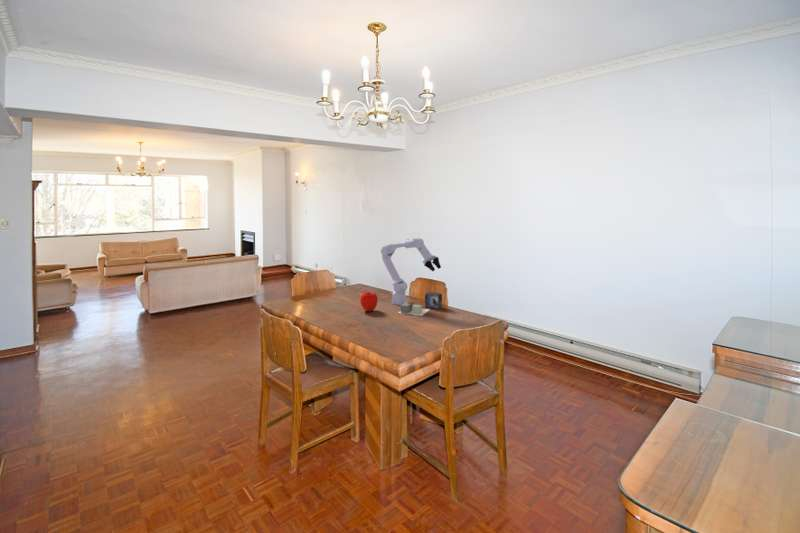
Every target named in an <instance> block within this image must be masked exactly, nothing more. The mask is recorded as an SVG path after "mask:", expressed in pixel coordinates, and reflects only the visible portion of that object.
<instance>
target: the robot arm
mask: <svg viewBox="0 0 800 533" xmlns="http://www.w3.org/2000/svg"><path fill="white" fill-rule="evenodd" d="M400 248H405V249H413V248H416V249H417V251H418V252H419V253H420V255H421V256H422V258H423V261H422V263H423V264H424V265H423V266H424V267H425V268H428V269H429V270H430V271H432V272H434V271H435V270H436V268H437V269H441V268H442V266H441V263H440V260H439V257H438V256H437V255H434V254H432V253H431V252H430V250H429V249H428V248H427V246H426V245H425V244H424V240H423V239H422V238H412V239H409V238H407V239H406V240H404V241H403V242H395V243H389V244H387V245H383V246H382V247H381V250H380V253H381V256H382V257H381V258H382V261H383V264H384V265H385V268H386V269H387V272H388V273H389V275H390V277H391V279H392V281H393V282H392V286H393V290H394V291H393V292H392V294H391V305H396V306H401V305H402V304H406V303H408V301H406V294H407V293H406V292H407V289H408V283H406V281H405V280H404V279H403V278H401V277H400V275H399V273H398V271H397V269H396V267H395V265H394V263H393V261H392V256H393V255H394V253H395V251H396V250H397V249H400ZM434 266H435V267H436V268H435V267H434Z"/></svg>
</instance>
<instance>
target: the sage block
mask: <svg viewBox="0 0 800 533" xmlns="http://www.w3.org/2000/svg"><path fill="white" fill-rule="evenodd" d="M422 309H423V304H418V305H416V304H415V305H413V306H412V314H421V313H422ZM412 314H411V315H412Z"/></svg>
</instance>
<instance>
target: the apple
mask: <svg viewBox="0 0 800 533" xmlns="http://www.w3.org/2000/svg"><path fill="white" fill-rule="evenodd" d="M378 300H379V299H378V295H377V294H376V293H375V292H373V291H372V292H370V291H366V292H363V293H362V294H361V295H360V298H359V301H360V305H361V307H362V308H363V310H364V311H365V312H373V311H374V310H375V309H376V307H377V305H378Z"/></svg>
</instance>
